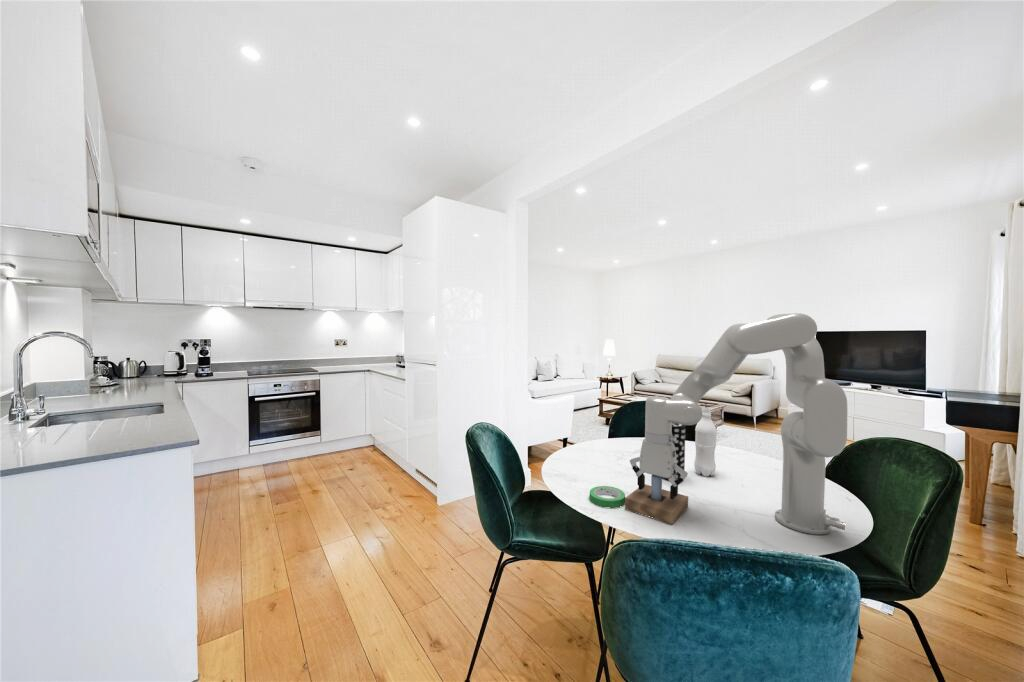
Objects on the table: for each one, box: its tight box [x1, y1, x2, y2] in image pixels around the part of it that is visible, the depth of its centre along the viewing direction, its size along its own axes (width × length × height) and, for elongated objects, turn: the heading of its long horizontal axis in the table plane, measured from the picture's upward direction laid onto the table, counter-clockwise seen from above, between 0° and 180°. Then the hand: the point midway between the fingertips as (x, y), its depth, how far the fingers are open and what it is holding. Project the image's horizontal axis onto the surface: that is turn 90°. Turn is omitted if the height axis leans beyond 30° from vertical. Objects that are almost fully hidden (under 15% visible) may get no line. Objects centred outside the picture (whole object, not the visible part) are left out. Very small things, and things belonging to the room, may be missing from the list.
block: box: [624, 483, 689, 526], centre depth 116 cm, size 14×14×4 cm
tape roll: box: [589, 485, 626, 509], centre depth 122 cm, size 11×11×3 cm
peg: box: [650, 474, 663, 502], centre depth 116 cm, size 3×3×10 cm
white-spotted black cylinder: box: [662, 423, 686, 482], centre depth 140 cm, size 8×8×20 cm
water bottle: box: [693, 407, 717, 477], centre depth 144 cm, size 7×7×25 cm
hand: (656, 493), depth 116 cm, fingers open, 9 cm apart
